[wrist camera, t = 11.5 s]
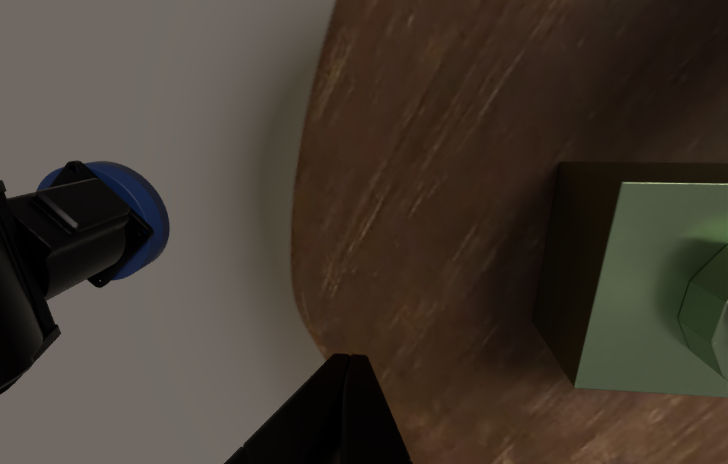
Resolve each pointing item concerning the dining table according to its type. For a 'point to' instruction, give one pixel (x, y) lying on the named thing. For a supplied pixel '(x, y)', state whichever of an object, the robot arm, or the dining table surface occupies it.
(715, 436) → the dining table surface
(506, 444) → the dining table surface
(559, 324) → the push button box
